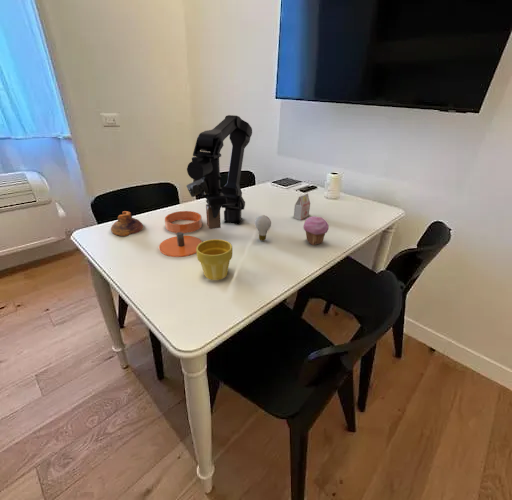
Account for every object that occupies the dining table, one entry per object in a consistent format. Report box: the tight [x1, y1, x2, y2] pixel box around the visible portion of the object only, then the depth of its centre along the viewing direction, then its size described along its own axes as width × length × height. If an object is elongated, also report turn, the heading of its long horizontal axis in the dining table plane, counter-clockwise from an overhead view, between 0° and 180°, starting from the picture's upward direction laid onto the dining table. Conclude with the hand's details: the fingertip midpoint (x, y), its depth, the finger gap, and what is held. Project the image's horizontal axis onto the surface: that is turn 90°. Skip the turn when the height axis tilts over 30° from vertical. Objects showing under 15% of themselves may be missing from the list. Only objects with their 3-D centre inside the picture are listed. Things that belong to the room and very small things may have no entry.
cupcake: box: [302, 215, 330, 246], centre depth 110 cm, size 9×9×10 cm
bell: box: [110, 210, 144, 237], centre depth 117 cm, size 12×12×7 cm
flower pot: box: [196, 238, 233, 281], centre depth 90 cm, size 10×10×10 cm
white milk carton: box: [293, 193, 311, 221], centre depth 132 cm, size 4×7×10 cm, turn 139°
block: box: [205, 203, 222, 230], centre depth 110 cm, size 4×4×8 cm
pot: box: [164, 210, 203, 234], centre depth 121 cm, size 14×14×4 cm
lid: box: [158, 232, 203, 258], centre depth 105 cm, size 15×15×6 cm
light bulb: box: [254, 214, 272, 242], centre depth 110 cm, size 6×6×10 cm
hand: (213, 215), depth 110 cm, fingers closed on block, 4 cm apart
